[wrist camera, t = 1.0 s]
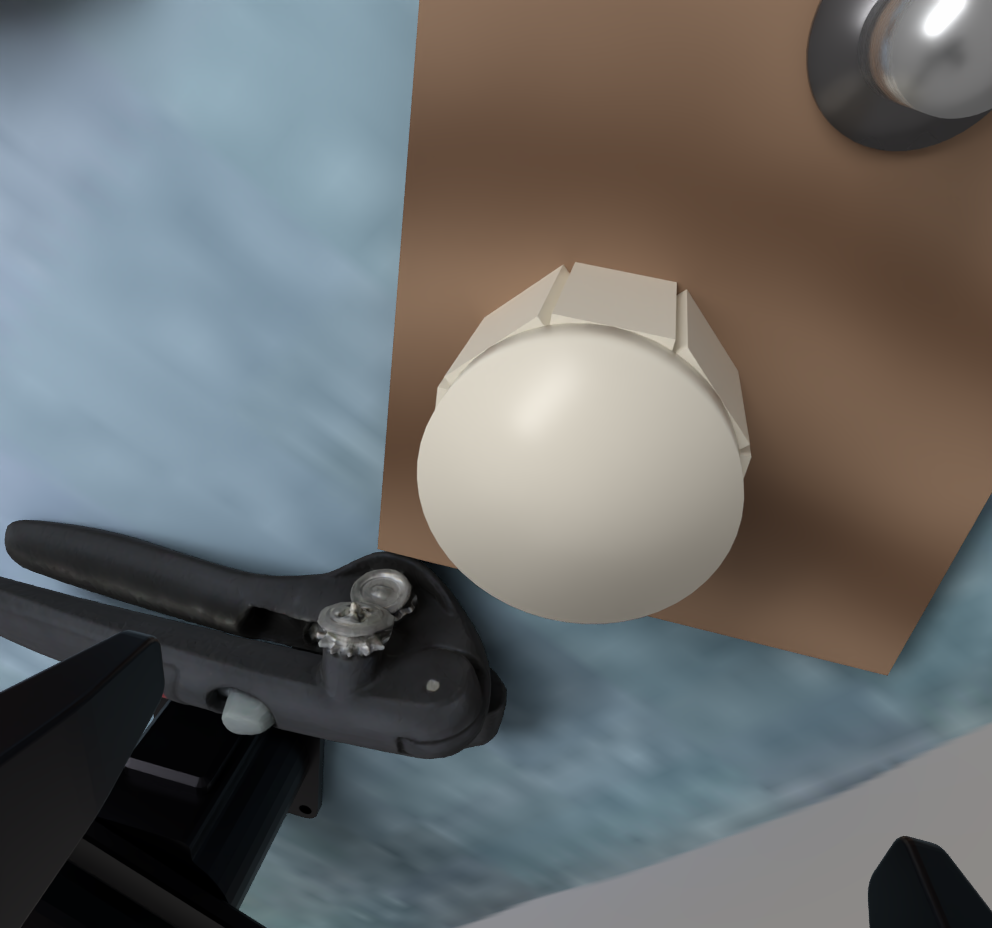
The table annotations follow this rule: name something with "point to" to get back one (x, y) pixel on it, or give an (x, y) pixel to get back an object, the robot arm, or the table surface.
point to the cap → (588, 449)
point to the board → (718, 284)
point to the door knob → (901, 69)
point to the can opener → (271, 638)
